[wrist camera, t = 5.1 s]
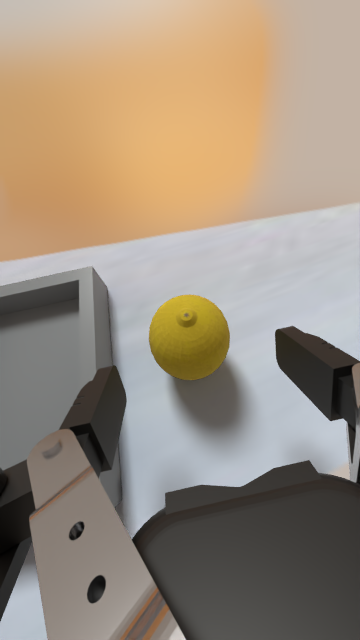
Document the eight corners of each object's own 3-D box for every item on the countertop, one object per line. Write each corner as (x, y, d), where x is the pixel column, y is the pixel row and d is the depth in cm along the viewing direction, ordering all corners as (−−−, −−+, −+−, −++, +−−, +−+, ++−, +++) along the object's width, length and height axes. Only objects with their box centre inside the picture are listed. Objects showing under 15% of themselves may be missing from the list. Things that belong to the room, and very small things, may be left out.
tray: (-64, 542, 15) (-134, 576, 12) (-16, 313, 22) (-51, 297, 19) (122, 499, 15) (101, 521, 12) (106, 286, 22) (92, 266, 19)
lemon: (151, 377, 18) (120, 351, 11) (169, 319, 20) (153, 265, 13) (216, 394, 17) (229, 378, 10) (228, 331, 19) (246, 280, 12)
